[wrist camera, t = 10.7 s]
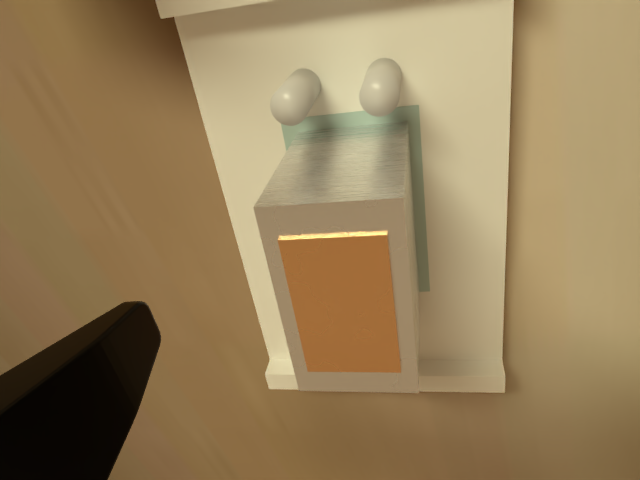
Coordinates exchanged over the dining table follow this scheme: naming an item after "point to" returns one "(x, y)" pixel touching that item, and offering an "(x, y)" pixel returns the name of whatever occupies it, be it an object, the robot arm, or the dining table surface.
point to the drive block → (345, 258)
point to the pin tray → (368, 109)
